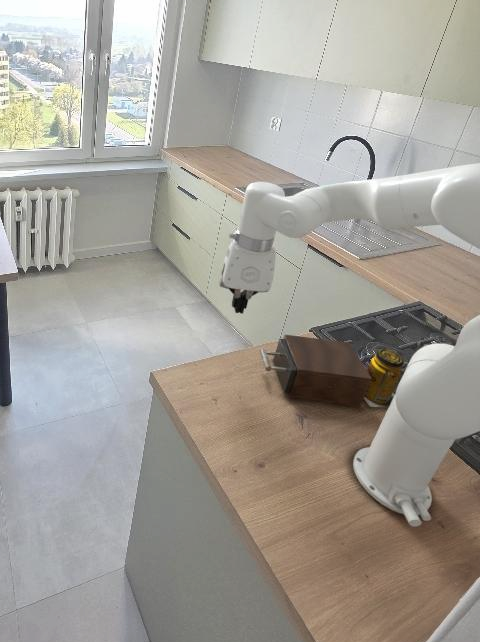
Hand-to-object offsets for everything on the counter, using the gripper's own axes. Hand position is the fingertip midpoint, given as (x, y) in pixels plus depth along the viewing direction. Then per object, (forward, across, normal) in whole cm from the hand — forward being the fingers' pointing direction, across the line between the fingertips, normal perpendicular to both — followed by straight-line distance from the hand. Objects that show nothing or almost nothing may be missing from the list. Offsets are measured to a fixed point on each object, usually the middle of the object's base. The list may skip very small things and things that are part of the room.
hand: (238, 309), depth 96 cm
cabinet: (+19, +22, 0) cm, 29 cm away
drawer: (+18, +18, 0) cm, 26 cm away
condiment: (+19, +36, -1) cm, 41 cm away
